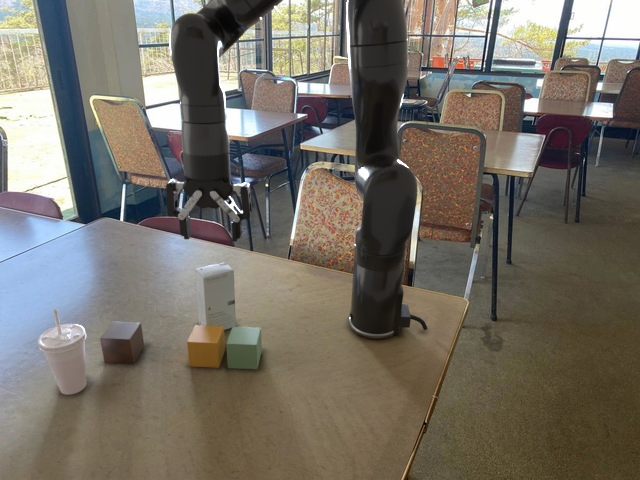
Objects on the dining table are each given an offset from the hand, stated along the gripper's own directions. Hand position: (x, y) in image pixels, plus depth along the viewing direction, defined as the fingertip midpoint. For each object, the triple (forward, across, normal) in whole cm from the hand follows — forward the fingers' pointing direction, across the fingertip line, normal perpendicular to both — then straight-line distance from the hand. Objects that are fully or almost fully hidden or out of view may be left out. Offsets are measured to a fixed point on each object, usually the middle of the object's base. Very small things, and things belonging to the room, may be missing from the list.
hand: (212, 238), depth 85 cm
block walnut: (+18, -14, -10) cm, 25 cm away
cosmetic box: (+18, 0, 0) cm, 18 cm away
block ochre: (+18, +1, -10) cm, 21 cm away
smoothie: (+18, -19, -18) cm, 32 cm away
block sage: (+18, +7, -10) cm, 22 cm away
